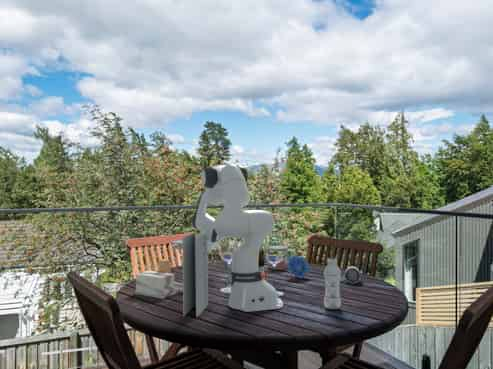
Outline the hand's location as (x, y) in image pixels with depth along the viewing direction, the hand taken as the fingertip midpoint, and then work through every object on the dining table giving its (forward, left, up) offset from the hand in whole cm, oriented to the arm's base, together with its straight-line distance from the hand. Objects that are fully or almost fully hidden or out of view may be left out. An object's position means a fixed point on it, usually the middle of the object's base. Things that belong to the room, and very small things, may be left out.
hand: (180, 248), depth 201 cm
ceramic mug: (-84, +5, -18) cm, 86 cm away
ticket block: (+7, +10, -18) cm, 22 cm away
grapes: (-60, -5, -18) cm, 63 cm away
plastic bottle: (-63, +46, -18) cm, 80 cm away
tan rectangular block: (+7, +10, -17) cm, 21 cm away
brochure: (-9, +42, -18) cm, 47 cm away
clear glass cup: (-54, -33, -18) cm, 66 cm away
